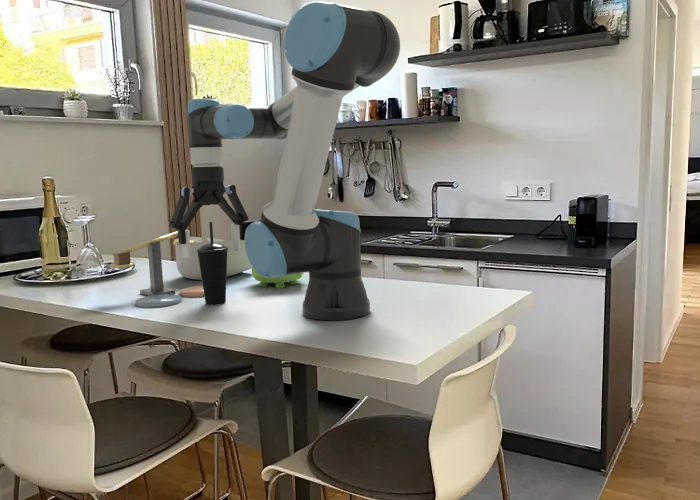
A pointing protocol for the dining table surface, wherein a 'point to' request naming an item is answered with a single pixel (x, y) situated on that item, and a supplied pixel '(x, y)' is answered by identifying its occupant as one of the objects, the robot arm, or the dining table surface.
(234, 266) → the bowl
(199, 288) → the orange disc
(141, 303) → the dish low side
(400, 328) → the dining table surface
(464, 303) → the dining table surface
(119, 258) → the balance
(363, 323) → the dining table surface
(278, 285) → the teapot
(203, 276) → the drinking cup
